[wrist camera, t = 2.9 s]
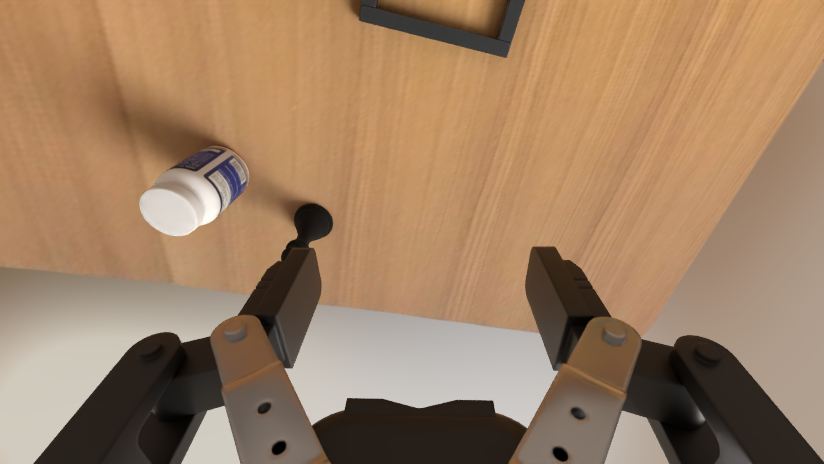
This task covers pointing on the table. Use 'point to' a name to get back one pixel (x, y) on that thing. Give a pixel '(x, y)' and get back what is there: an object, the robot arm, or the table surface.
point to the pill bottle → (194, 191)
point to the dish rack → (448, 28)
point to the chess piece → (309, 226)
